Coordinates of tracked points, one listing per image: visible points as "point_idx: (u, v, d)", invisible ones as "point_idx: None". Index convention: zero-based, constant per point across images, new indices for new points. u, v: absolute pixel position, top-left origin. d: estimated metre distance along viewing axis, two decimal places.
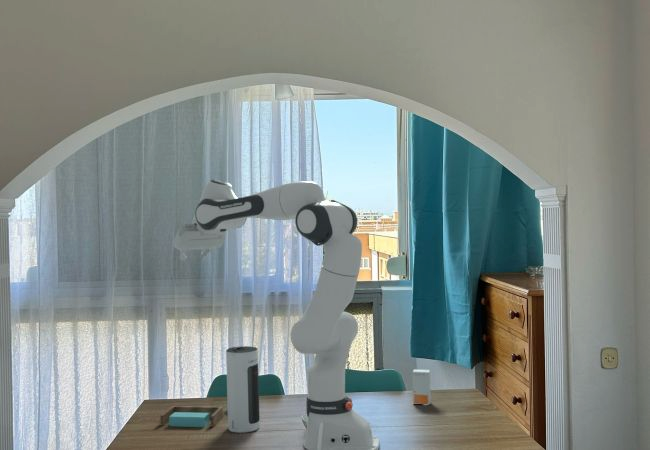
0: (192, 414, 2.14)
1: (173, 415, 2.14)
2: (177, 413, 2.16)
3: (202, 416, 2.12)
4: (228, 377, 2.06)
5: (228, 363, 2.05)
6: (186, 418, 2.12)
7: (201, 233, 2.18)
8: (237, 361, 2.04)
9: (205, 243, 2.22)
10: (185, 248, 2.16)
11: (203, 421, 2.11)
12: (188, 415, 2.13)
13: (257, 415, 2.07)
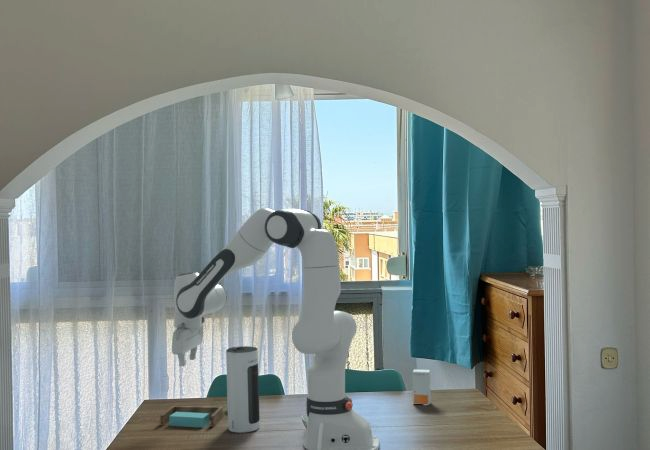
0: (192, 414, 2.14)
1: (173, 415, 2.14)
2: (178, 413, 2.16)
3: (201, 417, 2.11)
4: (228, 377, 2.06)
5: (228, 363, 2.05)
6: (185, 418, 2.12)
7: (191, 330, 2.12)
8: (237, 361, 2.04)
9: (194, 341, 2.15)
10: (185, 350, 2.07)
11: (202, 422, 2.10)
12: (188, 415, 2.13)
13: (257, 415, 2.07)
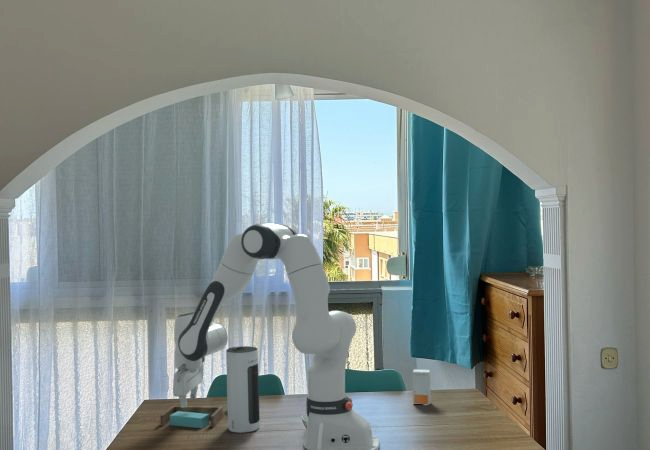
0: (192, 415, 2.14)
1: (174, 414, 2.15)
2: (179, 412, 2.17)
3: (199, 417, 2.11)
4: (228, 377, 2.06)
5: (228, 363, 2.05)
6: (185, 418, 2.12)
7: (191, 371, 2.11)
8: (237, 361, 2.04)
9: (194, 381, 2.15)
10: (186, 392, 2.07)
11: (200, 422, 2.10)
12: (187, 415, 2.13)
13: (257, 415, 2.07)
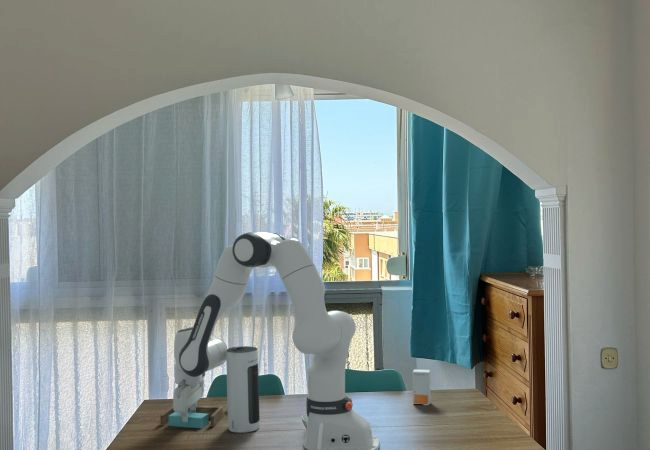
0: (191, 414, 2.13)
1: (173, 414, 2.14)
2: None
3: (199, 417, 2.10)
4: (228, 377, 2.06)
5: (228, 363, 2.05)
6: None
7: (191, 386, 2.11)
8: (237, 361, 2.04)
9: (195, 396, 2.15)
10: (186, 407, 2.06)
11: (200, 422, 2.10)
12: None
13: (257, 415, 2.07)
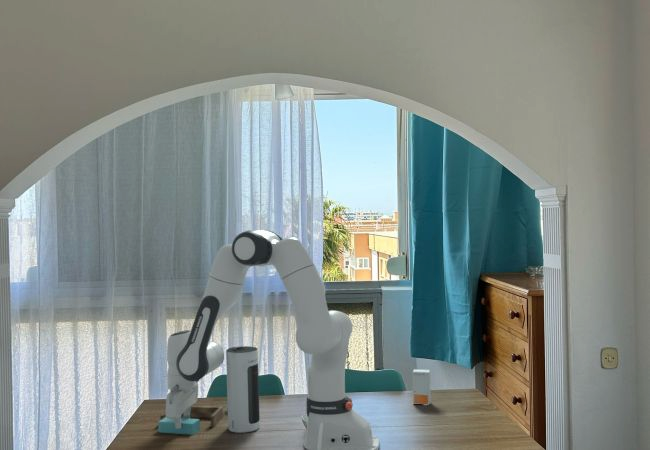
0: (181, 420, 2.07)
1: (163, 420, 2.07)
2: None
3: (190, 423, 2.04)
4: (228, 377, 2.06)
5: (228, 363, 2.05)
6: None
7: (185, 391, 2.04)
8: (237, 361, 2.04)
9: (188, 402, 2.08)
10: (179, 414, 2.00)
11: (191, 428, 2.04)
12: None
13: (257, 415, 2.07)
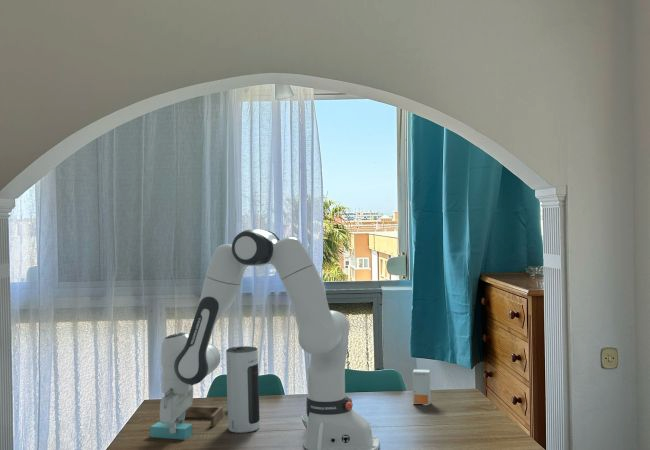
0: None
1: (155, 425, 2.03)
2: (160, 423, 2.05)
3: (183, 428, 2.00)
4: (228, 377, 2.06)
5: (228, 363, 2.05)
6: (167, 429, 2.00)
7: (179, 395, 2.00)
8: (237, 361, 2.04)
9: (183, 406, 2.03)
10: (174, 418, 1.95)
11: (183, 433, 1.99)
12: None
13: (257, 415, 2.07)
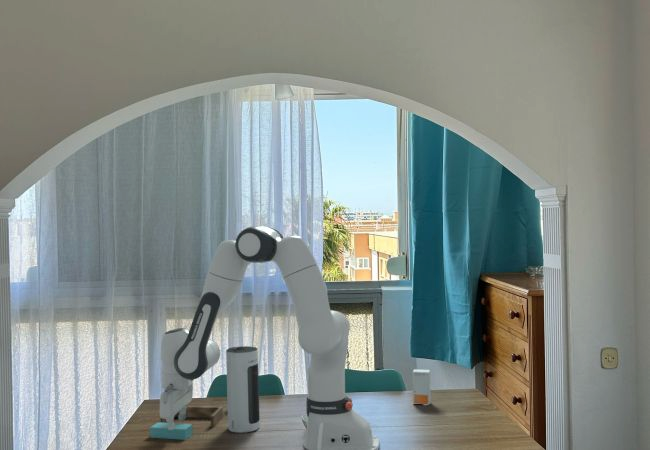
0: None
1: (154, 426, 2.03)
2: (159, 423, 2.05)
3: (183, 428, 2.00)
4: (228, 377, 2.06)
5: (228, 363, 2.05)
6: (167, 429, 2.00)
7: (179, 391, 2.00)
8: (237, 361, 2.04)
9: (183, 401, 2.03)
10: (174, 413, 1.95)
11: (184, 433, 1.99)
12: None
13: (257, 415, 2.07)
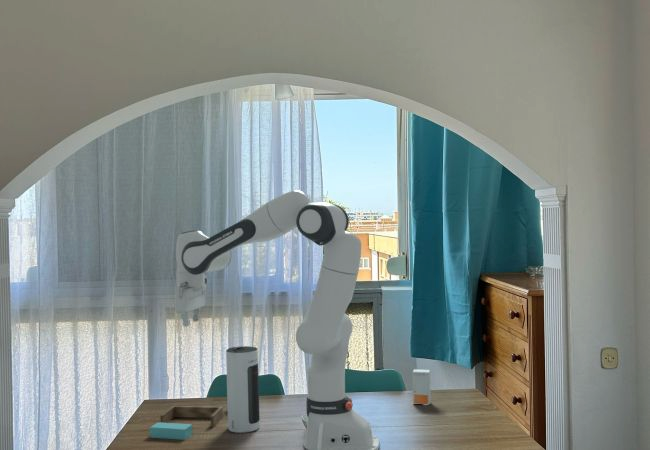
0: (174, 426, 2.02)
1: (154, 426, 2.03)
2: (159, 423, 2.05)
3: (183, 428, 2.00)
4: (228, 377, 2.06)
5: (228, 363, 2.05)
6: (167, 429, 2.00)
7: (194, 289, 2.06)
8: (237, 361, 2.04)
9: (197, 301, 2.10)
10: (189, 309, 2.01)
11: (184, 433, 1.99)
12: (169, 427, 2.01)
13: (257, 415, 2.07)
